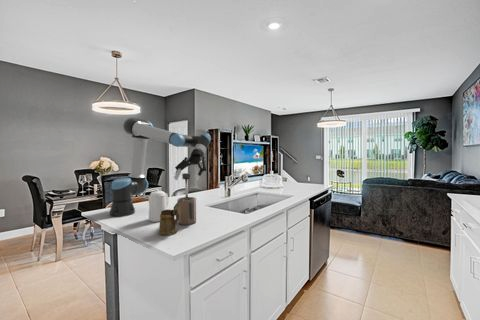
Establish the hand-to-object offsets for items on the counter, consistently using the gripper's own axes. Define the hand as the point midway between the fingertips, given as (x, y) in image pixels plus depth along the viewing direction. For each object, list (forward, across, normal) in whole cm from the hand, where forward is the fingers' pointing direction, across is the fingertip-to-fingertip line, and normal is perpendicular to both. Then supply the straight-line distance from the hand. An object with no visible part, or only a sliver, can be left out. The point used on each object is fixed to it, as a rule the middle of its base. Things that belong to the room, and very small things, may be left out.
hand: (185, 179), depth 133 cm
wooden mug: (+30, +2, +6) cm, 30 cm away
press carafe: (+17, +1, +18) cm, 25 cm away
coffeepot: (+18, -20, +18) cm, 33 cm away
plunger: (+10, 0, +12) cm, 15 cm away
